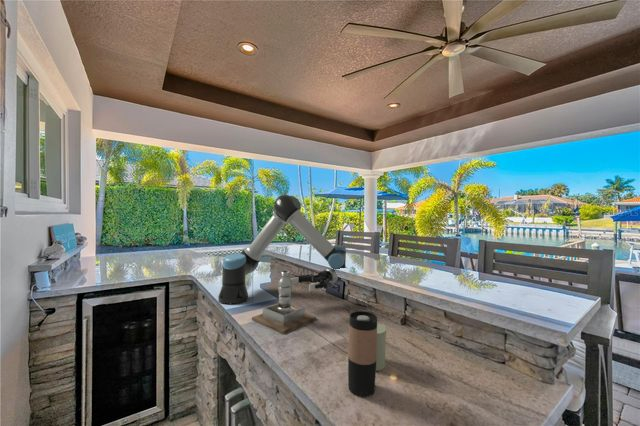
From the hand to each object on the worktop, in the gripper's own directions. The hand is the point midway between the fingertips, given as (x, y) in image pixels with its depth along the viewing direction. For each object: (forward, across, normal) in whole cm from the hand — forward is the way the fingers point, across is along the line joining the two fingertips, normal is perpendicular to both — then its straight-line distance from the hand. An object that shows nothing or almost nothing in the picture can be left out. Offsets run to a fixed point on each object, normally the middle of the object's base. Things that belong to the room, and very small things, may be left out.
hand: (298, 284), depth 128 cm
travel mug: (+26, -50, -14) cm, 58 cm away
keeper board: (+8, 0, -14) cm, 16 cm away
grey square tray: (+9, 0, -13) cm, 15 cm away
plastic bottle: (+8, 0, -13) cm, 15 cm away
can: (+13, -46, -14) cm, 49 cm away
